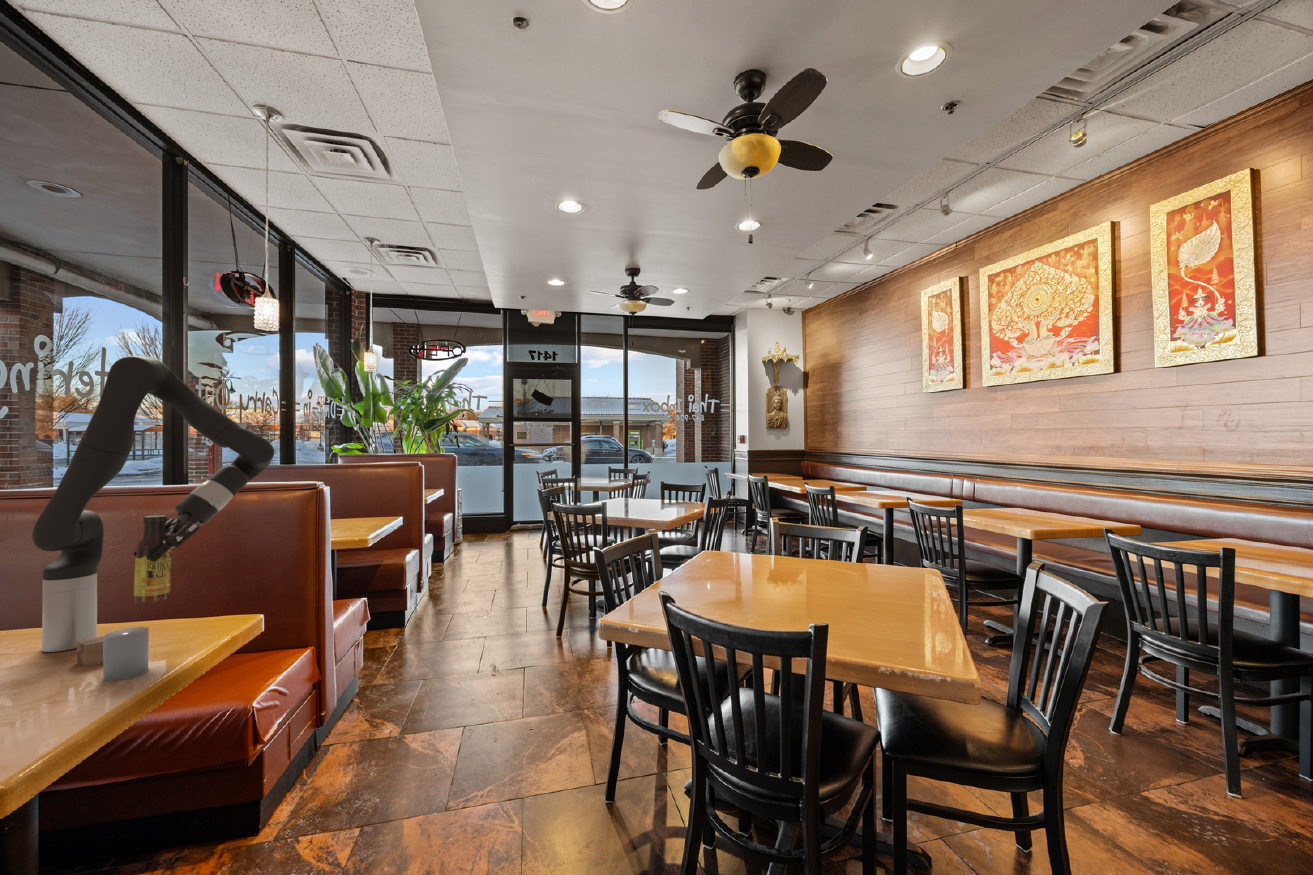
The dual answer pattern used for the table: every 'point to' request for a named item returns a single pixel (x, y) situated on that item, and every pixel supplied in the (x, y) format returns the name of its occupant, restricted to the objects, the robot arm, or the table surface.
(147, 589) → the sauce bottle
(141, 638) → the grey rounded cylinder
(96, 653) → the walnut block
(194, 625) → the table surface
